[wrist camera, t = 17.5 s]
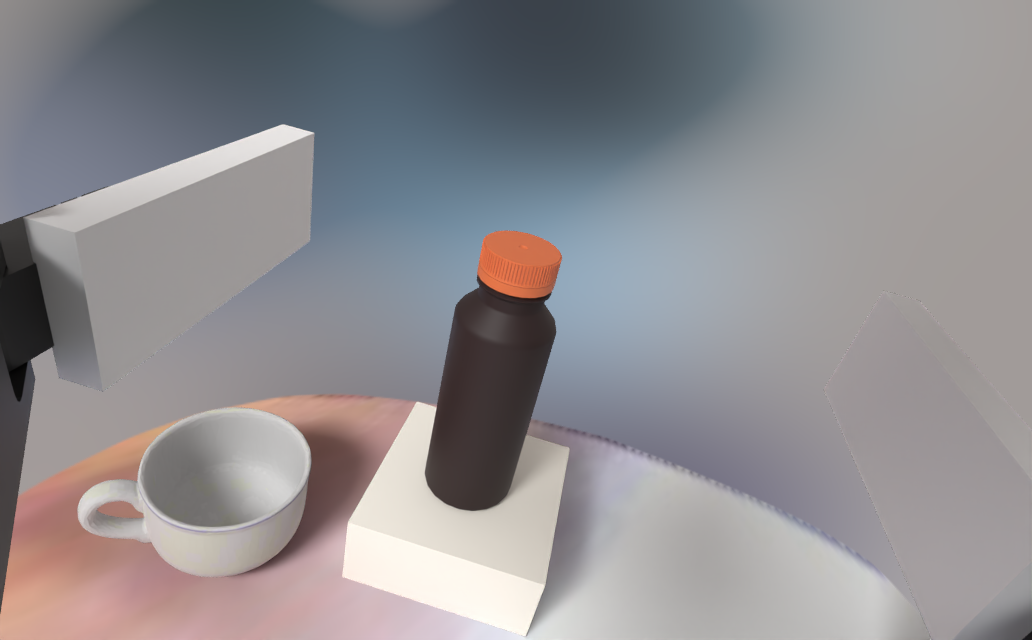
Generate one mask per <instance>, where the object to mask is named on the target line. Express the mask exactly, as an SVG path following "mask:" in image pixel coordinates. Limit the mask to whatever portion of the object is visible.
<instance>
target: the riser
mask: <svg viewBox="0 0 1032 640" xmlns="http://www.w3.org/2000/svg"><path fill="white" fill-rule="evenodd" d="M436 408H437V407H433V406H430V405H427V404H423V403H420V402H417V403H416V404H415V406H414V408H413V410H412V411H411V413H410V415H409V417H408V418H407V420H406V422H405V424H404V425H403V427H402V429H401V431H400V432H399V434H398V436H397V438H396V439H395V441H394V443H393V445H392V446H391V448H390V450H389V452H388V453H387V455H386V457H385V459H384V460H383V462H382V464H381V466H380V467H379V469H378V471H377V473H376V474H375V476H374V478H373V479H372V481H371V483H370V485H369V486H368V488H367V490H366V492H365V493H364V495H363V497H362V499H361V500H360V502H359V504H358V506H357V507H356V509H355V511H354V513H353V514H352V516H351V518H350V520H349V521H348V527H347V537H346V546H345V556H344V566H343V576H342V577H344V578H347V579H350V580H354V581H357V582H360V583H363V584H366V585H369V586H372V587H375V588H378V589H381V590H384V591H387V592H390V593H393V594H396V595H400V596H403V597H406V598H409V599H412V600H415V601H418V602H421V603H424V604H427V605H430V606H433V607H436V608H439V609H442V610H445V611H449V612H452V613H455V614H458V615H461V616H464V617H467V618H470V619H473V620H476V621H479V622H482V623H485V624H488V625H491V626H495V627H498V628H501V629H504V630H507V631H510V632H513V633H516V634H519V635H522V636H525V637H526V634H527V632H528V629H529V627H530V624H531V621H532V619H533V616H534V613H535V611H536V608H537V606H538V603H539V600H540V598H541V595H542V593H543V590H544V587H545V584H546V578H547V573H548V567H549V562H550V556H551V550H552V545H553V539H554V534H555V528H556V523H557V517H558V511H559V506H560V500H561V495H562V489H563V483H564V478H565V472H566V467H567V461H568V456H569V450H570V448H568V447H565V446H562V445H558V444H555V443H552V442H549V441H545V440H542V439H539V438H535V437H532V436H529V435H526V437H525V440H524V444H523V447H522V450H521V454H520V457H519V461H518V464H517V467H516V471H515V474H514V477H513V481H512V484H511V487H510V489H509V491H508V494H507V496H506V497H505V498H504V499H503V500H502V501H501V502H500V503H498V504H497V505H495V506H493V507H490V508H488V509H485V510H477V511H468V510H461V509H457V508H454V507H452V506H450V505H447V504H445V503H444V502H442V501H441V500H440V499H438V498H437V497H436V496H435V495H434V494H433V493H432V491H431V490H430V488H429V487H428V485H427V481H426V477H425V467H426V461H427V456H428V451H429V445H430V440H431V435H432V429H433V424H434V419H435V413H436Z"/></svg>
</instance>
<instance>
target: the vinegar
mask: <svg viewBox="0 0 1032 640" xmlns="http://www.w3.org/2000/svg"><path fill="white" fill-rule="evenodd" d="M561 260H562V255H561V253H560V252H559V250H558V249H557V248H556V247H555V246H554V245H552V244H551V243H550V242H548V241H546V240H544V239H542V238H539V237H537V236H534V235H531V234H528V233H523V232H517V231H498V232H494V233H491V234H489V235H487V236H486V237H485V238H484V240H483V245H482V250H481V255H480V260H479V266H478V272H477V274H478V275H477V282H478V283H479V285H480V286H479V288H477V289H475V290H474V291H472V292H470V293H468V294H466V295H465V296H464V297H463V298H462V299H461V300H460V301H459V302H458V304H457V305H456V307H455V312H454V317H453V323H452V328H451V334H450V339H449V344H448V350H447V355H446V360H445V365H444V371H443V376H442V381H441V387H440V392H439V398H438V403H437V408H436V413H435V419H434V424H433V429H432V435H431V440H430V445H429V451H428V456H427V461H426V467H425V477H426V481H427V485H428V487H429V488H430V490H431V491H432V493H433V494H434V495H435V496H436V497H437V498H438V499H440V500H441V501H442V502H444V503H445V504H447V505H450V506H452V507H454V508H457V509H461V510H468V511H477V510H485V509H488V508H490V507H493V506H495V505H497V504H498V503H500V502H501V501H502V500H503V499H504V498H505V497H506V496H507V494H508V491H509V489H510V487H511V484H512V481H513V477H514V474H515V471H516V467H517V464H518V461H519V457H520V454H521V450H522V447H523V444H524V440H525V437H526V433H527V430H528V427H529V423H530V420H531V416H532V413H533V409H534V406H535V403H536V400H537V396H538V392H539V389H540V386H541V382H542V379H543V376H544V373H545V369H546V366H547V362H548V359H549V355H550V352H551V349H552V345H553V342H554V339H555V335H556V326H555V320H554V318H553V316H552V315H551V313H550V312H549V310H548V309H547V307H546V306H545V304H544V302H545V300H547V299H548V298H549V297H550V295H551V293H552V290H553V288H554V285H555V282H556V278H557V274H558V271H559V267H560V263H561Z"/></svg>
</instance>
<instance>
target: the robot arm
mask: <svg viewBox="0 0 1032 640" xmlns="http://www.w3.org/2000/svg"><path fill="white" fill-rule="evenodd" d="M313 149H314V133H312V132H309V131H305V130H302V129H298V128H294V127H291V126H287V125H280V126H277V127H275V128H272V129H269V130H266V131H263V132H260V133H258V134H255V135H252V136H249V137H247V138H244V139H241V140H238V141H235V142H232V143H230V144H227V145H224V146H221V147H219V148H216V149H213V150H210V151H208V152H205V153H202V154H199V155H196V156H193V157H191V158H188V159H185V160H182V161H179V162H177V163H174V164H171V165H168V166H165V167H163V168H160V169H157V170H154V171H152V172H149V173H146V174H143V175H140V176H138V177H135V178H132V179H129V180H127V181H124V182H121V183H118V184H115V185H112V186H109V187H104V188H102V189H99V190H96V191H93V192H90V193H87V194H84V195H82V196H81V197H79V198H73V199H71V200H68V201H65V202H63V203H61V204H60V205H54V206H51V207H48V208H45V209H42V210H40V211H37V212H34V213H31V214H28V215H26V216H23V217H20V218H17V219H14V220H12V221H9V222H6V223H3V224H0V612H1V605H2V599H3V592H4V585H5V579H6V572H7V565H8V558H9V552H10V545H11V538H12V531H13V525H14V518H15V511H16V505H17V498H18V491H19V484H20V478H21V471H22V464H23V457H24V450H25V444H26V437H27V431H28V424H29V417H30V410H31V404H32V397H33V390H34V383H35V376H34V372H33V368H32V365H31V359H33V358H34V357H36V356H38V355H39V354H41V353H43V352H44V351H46V350H48V349H50V348H51V347H52V348H53V353H54V357H55V362H56V366H57V370H58V375H59V378H61V379H64V380H67V381H71V382H74V383H77V384H80V385H83V386H86V387H90V388H93V389H96V390H99V391H102V392H103V391H105V390H106V389H108V388H109V387H110V386H112V385H113V384H115V383H116V382H117V381H119V380H120V379H121V378H123V377H124V376H126V375H127V374H128V373H130V372H131V371H132V370H134V369H135V368H137V367H138V366H139V365H141V364H142V363H143V362H145V361H146V360H147V359H149V358H150V357H152V356H153V355H154V354H156V353H157V352H159V351H160V350H161V349H162V348H164V347H165V346H167V345H168V344H170V343H171V342H172V341H174V340H175V339H176V338H178V337H179V336H181V335H182V334H183V333H185V332H186V331H187V330H189V329H190V328H191V327H193V326H194V325H196V324H197V323H198V322H200V321H201V320H202V319H204V318H205V317H207V316H208V315H209V314H211V313H212V312H213V311H215V310H216V309H217V308H219V307H220V306H222V305H223V304H224V303H226V302H227V301H229V300H230V299H231V298H233V297H234V296H235V295H237V294H238V293H239V292H241V291H242V290H243V289H245V288H246V287H247V286H249V285H251V284H252V283H253V282H255V281H256V280H257V279H259V278H260V277H261V276H263V275H264V274H266V273H267V272H268V271H270V270H271V269H272V268H274V267H275V266H277V265H278V264H279V263H281V262H282V261H283V260H285V259H286V258H287V257H289V256H290V255H292V254H293V253H294V252H296V251H297V250H299V249H300V248H301V247H303V246H304V245H305V244H307V243H308V242H309V241H310V226H311V200H312V199H311V198H312V175H313V174H312V173H313ZM824 392H825V394H826V397H827V399H828V401H829V404H830V406H831V408H832V411H833V413H834V415H835V418H836V420H837V422H838V424H839V427H840V429H841V431H842V434H843V436H844V438H845V441H846V443H847V445H848V447H849V450H850V452H851V454H852V457H853V459H854V461H855V463H856V466H857V468H858V470H859V473H860V475H861V477H862V480H863V482H864V484H865V487H866V489H867V491H868V494H869V496H870V498H871V501H872V503H873V505H874V507H875V510H876V512H877V514H878V517H879V519H880V521H881V524H882V526H883V528H884V531H885V533H886V535H887V537H888V540H889V542H890V544H891V546H892V549H893V551H894V554H895V556H896V558H897V560H898V563H899V565H900V567H901V570H902V572H903V574H904V577H905V579H906V581H907V584H908V586H909V588H910V590H911V593H912V595H913V597H914V600H915V602H916V604H917V607H918V609H919V611H920V614H921V616H922V618H923V621H924V623H925V625H926V628H927V630H928V632H929V634H930V637H931V639H932V640H1032V430H1031V429H1030V428H1029V426H1028V425H1027V424H1026V423H1025V422H1024V420H1023V419H1022V418H1021V417H1020V416H1019V415H1018V413H1017V412H1016V411H1015V410H1014V409H1013V408H1012V407H1011V405H1010V404H1009V403H1008V402H1007V401H1006V400H1005V399H1004V397H1003V396H1002V395H1001V394H1000V393H999V392H998V390H997V389H996V388H995V387H994V386H993V385H992V384H991V382H990V381H989V380H988V379H987V378H986V377H985V376H984V375H983V373H982V372H981V371H980V370H979V369H978V367H977V366H976V365H975V364H974V363H973V362H972V361H971V360H970V358H969V357H968V356H967V355H966V354H965V353H964V351H963V350H962V349H961V348H960V347H959V346H958V345H957V343H956V342H955V341H954V340H953V339H952V338H951V336H950V335H949V334H948V333H947V332H946V331H945V330H944V328H943V327H942V326H941V325H940V324H939V323H938V321H937V320H936V319H935V318H934V317H933V316H932V315H931V314H930V312H929V311H928V310H927V309H926V308H925V307H924V305H923V304H922V303H921V302H920V301H919V300H917V299H912V298H909V297H906V296H902V295H898V294H895V293H891V292H888V291H883V292H882V294H881V295H880V297H879V299H878V300H877V302H876V304H875V305H874V307H873V308H872V310H871V312H870V313H869V315H868V317H867V319H866V320H865V322H864V324H863V325H862V327H861V328H860V330H859V332H858V333H857V335H856V337H855V338H854V340H853V342H852V343H851V345H850V347H849V348H848V350H847V352H846V353H845V355H844V356H843V358H842V360H841V361H840V363H839V365H838V366H837V368H836V370H835V372H834V373H833V375H832V376H831V378H830V380H829V381H828V383H827V385H826V386H825V388H824Z"/></svg>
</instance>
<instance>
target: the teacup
mask: <svg viewBox="0 0 1032 640" xmlns="http://www.w3.org/2000/svg"><path fill="white" fill-rule="evenodd" d="M310 470H311V451H310V447H309V445H308V443H307V441H306V439H305V437H304V436H303V434H302V433H301V432H300V431H299V430H298V429H297V428H296V427H295V426H294V425H293V424H291V423H290V422H288V421H287V420H285V419H284V418H281V417H280V416H277V415H275V414H272V413H269V412H265V411H262V410H256V409H251V408H237V407H234V408H221V409H216V410H209V411H206V412H203V413H199V414H195V415H192V416H190V417H188V418H185V419H183V420H181V421H179V422H177V423H175V424H174V425H172V426H171V427H169V428H168V429H166V430H165V431H163V432H162V433H161V434H160V435H159V436H158V437H156V438H155V440H154V441H153V442H152V443H151V444H150V445H149V447H148V448H147V450H146V452H145V454H144V455H143V458H142V460H141V463H140V467H139V471H138V481H132V480H123V479H118V480H109V481H105V482H102V483H99V484H97V485H95V486H93V487H92V488H90V489H89V490H88V491H87V492H86V493H85V494H84V495H83V497H82V498H81V500H80V502H79V505H78V519H79V521H80V523H81V525H82V527H83V528H85V529H86V530H87V531H89V532H90V533H93V534H95V535H99V536H102V537H107V538H117V539H136V540H138V541H140V542H142V543H152V544H153V546H154V547H155V549H156V550H157V552H158V553H159V555H160V556H161V557H162V558H163V559H164V560H165V561H166V562H167V563H169V564H170V565H171V566H173V567H174V568H176V569H178V570H180V571H182V572H185V573H188V574H191V575H195V576H200V577H226V576H233V575H237V574H241V573H244V572H247V571H249V570H252V569H254V568H256V567H258V566H260V565H262V564H264V563H266V562H267V561H268V560H270V559H271V558H273V557H274V556H275V555H277V554H278V553H279V552H280V551H281V550H282V549H283V548H284V547H285V546H286V545H287V544H288V542H289V541H290V540H291V538H292V537H293V535H294V534H295V532H296V530H297V528H298V526H299V524H300V521H301V518H302V515H303V511H304V507H305V501H306V494H307V486H308V478H309V475H310ZM113 501H125V502H129V503H130V504H132V505H133V506H134V507H135V508H136V510H137V511H139V512H142V513H143V514H144V518H120V517H114V516H109V515H105V514H102V513H100V512H98V511H97V509H98V508H99V507H100V506H102V505H103V504H105V503H109V502H113Z"/></svg>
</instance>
